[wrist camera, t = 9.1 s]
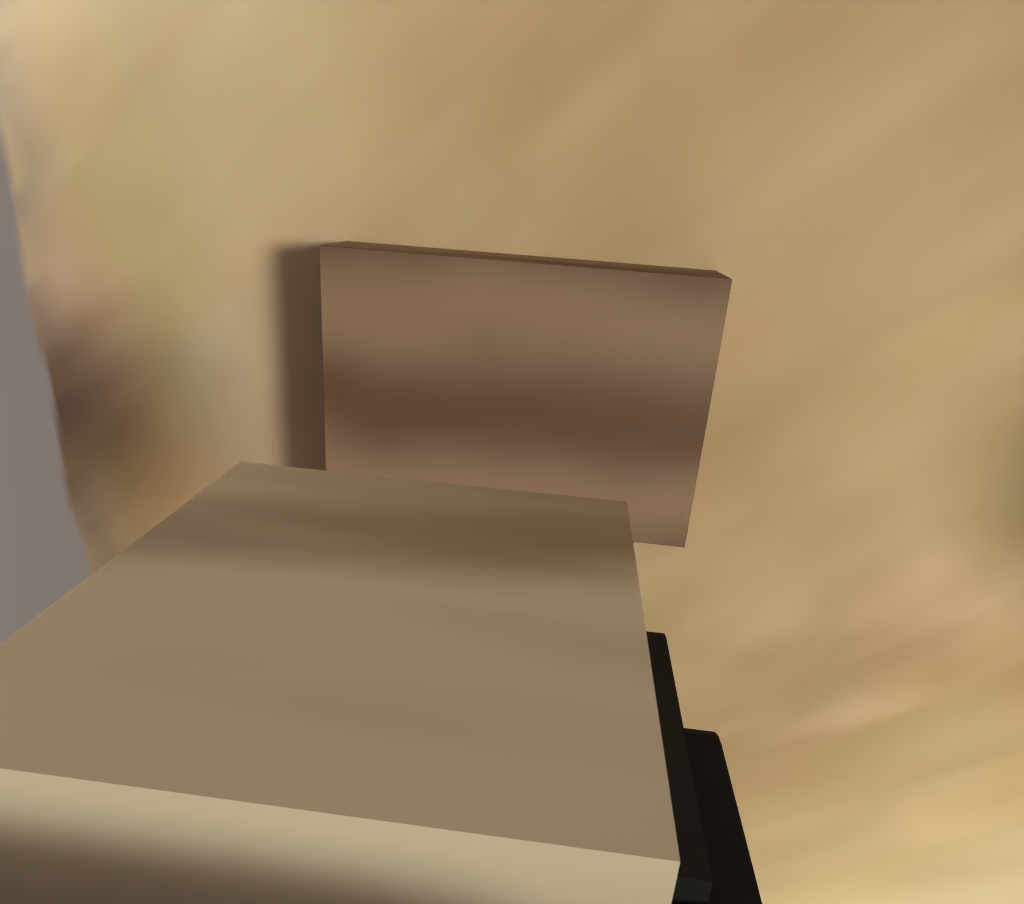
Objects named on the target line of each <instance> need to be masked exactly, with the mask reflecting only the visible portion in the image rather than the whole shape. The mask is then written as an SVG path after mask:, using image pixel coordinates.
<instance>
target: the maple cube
mask: <svg viewBox="0 0 1024 904" xmlns="http://www.w3.org/2000/svg"><path fill="white" fill-rule="evenodd" d="M679 866H680V856H679V849H678V843H677V836H676V829H675V822H674V816H673V809H672V802H671V796H670V789H669V782H668V775H667V769H666V762H665V755H664V749H663V742H662V735H661V728H660V722H659V715H658V708H657V701H656V695H655V688H654V681H653V675H652V668H651V661H650V654H649V648H648V641H647V634H646V627H645V621H644V614H643V607H642V601H641V594H640V587H639V580H638V574H637V567H636V560H635V553H634V547H633V540H632V533H631V527H630V520H629V513H628V506H627V502H625V501H615V500H606V499H596V498H586V497H577V496H567V495H557V494H548V493H538V492H528V491H519V490H509V489H499V488H490V487H480V486H470V485H461V484H451V483H441V482H432V481H422V480H412V479H403V478H393V477H384V476H374V475H364V474H355V473H345V472H335V471H326V470H316V469H306V468H297V467H287V466H277V465H268V464H258V463H248V462H239V463H238V464H237V465H236V466H234V467H233V468H232V469H230V470H229V471H228V472H226V473H225V474H224V475H222V476H221V477H220V478H218V479H217V480H216V481H214V482H213V483H212V484H210V485H209V486H208V487H206V488H205V489H204V490H203V491H201V492H200V493H199V494H197V495H196V496H195V497H193V498H192V499H191V500H189V501H188V502H187V503H185V504H184V505H183V506H181V507H180V508H179V509H177V510H176V511H175V512H173V513H172V514H171V515H170V516H168V517H167V518H166V519H164V520H163V521H162V522H160V523H159V524H158V525H156V526H155V527H154V528H152V529H151V530H150V531H148V532H147V533H146V534H144V535H143V536H142V537H140V538H139V539H138V540H137V541H135V542H134V543H133V544H131V545H130V546H129V547H127V548H126V549H125V550H123V551H122V552H121V553H119V554H118V555H117V556H115V557H114V558H113V559H111V560H110V561H109V562H107V563H106V564H105V565H104V566H102V567H101V568H100V569H98V570H97V571H96V572H94V573H93V574H92V575H90V576H89V577H88V578H86V579H85V580H84V581H82V582H81V583H80V584H79V585H77V586H76V587H74V588H73V589H72V590H71V591H69V592H68V593H67V594H65V595H64V596H63V597H61V598H60V599H59V600H57V601H56V602H55V603H53V604H52V605H51V606H49V607H48V608H47V609H45V610H44V611H43V612H42V613H40V614H39V615H38V616H36V617H35V618H34V619H32V620H31V621H30V622H28V623H27V624H26V625H24V626H23V627H22V628H20V629H19V630H18V631H17V632H15V633H14V634H12V635H11V636H10V637H8V638H7V639H6V640H5V641H3V642H2V643H1V644H0V904H671V903H672V898H673V894H674V889H675V884H676V880H677V875H678V871H679Z"/></svg>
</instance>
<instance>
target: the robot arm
mask: <svg viewBox="0 0 1024 904" xmlns="http://www.w3.org/2000/svg"><path fill="white" fill-rule="evenodd" d="M646 634H647V641H648V648H649V654H650V661H651V668H652V675H653V681H654V688H655V695H656V701H657V708H658V715H659V722H660V728H661V735H662V742H663V749H664V755H665V762H666V769H667V775H668V782H669V789H670V796H671V802H672V809H673V816H674V822H675V829H676V836H677V843H678V849H679V856H680V866H679V871H678V875H677V880H676V884H675V889H674V894H673V898H672V903H671V904H762V902H761V898H760V894H759V890H758V886H757V882H756V878H755V874H754V870H753V866H752V862H751V859H750V855H749V851H748V847H747V843H746V839H745V835H744V831H743V827H742V823H741V819H740V815H739V812H738V808H737V804H736V800H735V796H734V792H733V788H732V784H731V780H730V776H729V772H728V769H727V765H726V761H725V757H724V753H723V749H722V745H721V742H720V739H719V737H718V735H717V734H716V733H715V732H711V731H703V730H695V729H687V728H683V723H682V718H681V713H680V707H679V702H678V697H677V692H676V687H675V681H674V676H673V671H672V666H671V660H670V655H669V650H668V645H667V639H666V636H665V634H664V633H655V632H646Z"/></svg>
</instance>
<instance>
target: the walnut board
mask: <svg viewBox="0 0 1024 904" xmlns="http://www.w3.org/2000/svg"><path fill="white" fill-rule="evenodd" d="M320 279H321V314H322V349H323V384H324V420H325V455H326V471H335V472H345V473H355V474H364V475H374V476H384V477H393V478H403V479H412V480H422V481H432V482H441V483H451V484H461V485H470V486H480V487H490V488H499V489H509V490H519V491H528V492H538V493H548V494H557V495H567V496H577V497H586V498H596V499H606V500H615V501H625V502H627V506H628V513H629V520H630V527H631V533H632V540H633V542H640V543H649V544H658V545H668V546H677V547H685V542H686V536H687V530H688V525H689V519H690V514H691V508H692V502H693V497H694V491H695V486H696V480H697V474H698V469H699V463H700V457H701V452H702V446H703V441H704V435H705V429H706V424H707V418H708V413H709V407H710V401H711V396H712V390H713V384H714V379H715V373H716V368H717V362H718V356H719V351H720V345H721V340H722V334H723V328H724V323H725V317H726V311H727V306H728V300H729V295H730V289H731V283H732V279H731V278H729V277H727V276H725V275H723V274H721V273H719V272H717V271H714V270H701V269H689V268H676V267H664V266H651V265H639V264H626V263H614V262H601V261H589V260H576V259H564V258H551V257H538V256H526V255H513V254H501V253H488V252H476V251H463V250H451V249H438V248H426V247H413V246H401V245H388V244H376V243H363V242H351V241H346V242H340V243H335V244H329V245H323V246H320Z"/></svg>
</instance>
